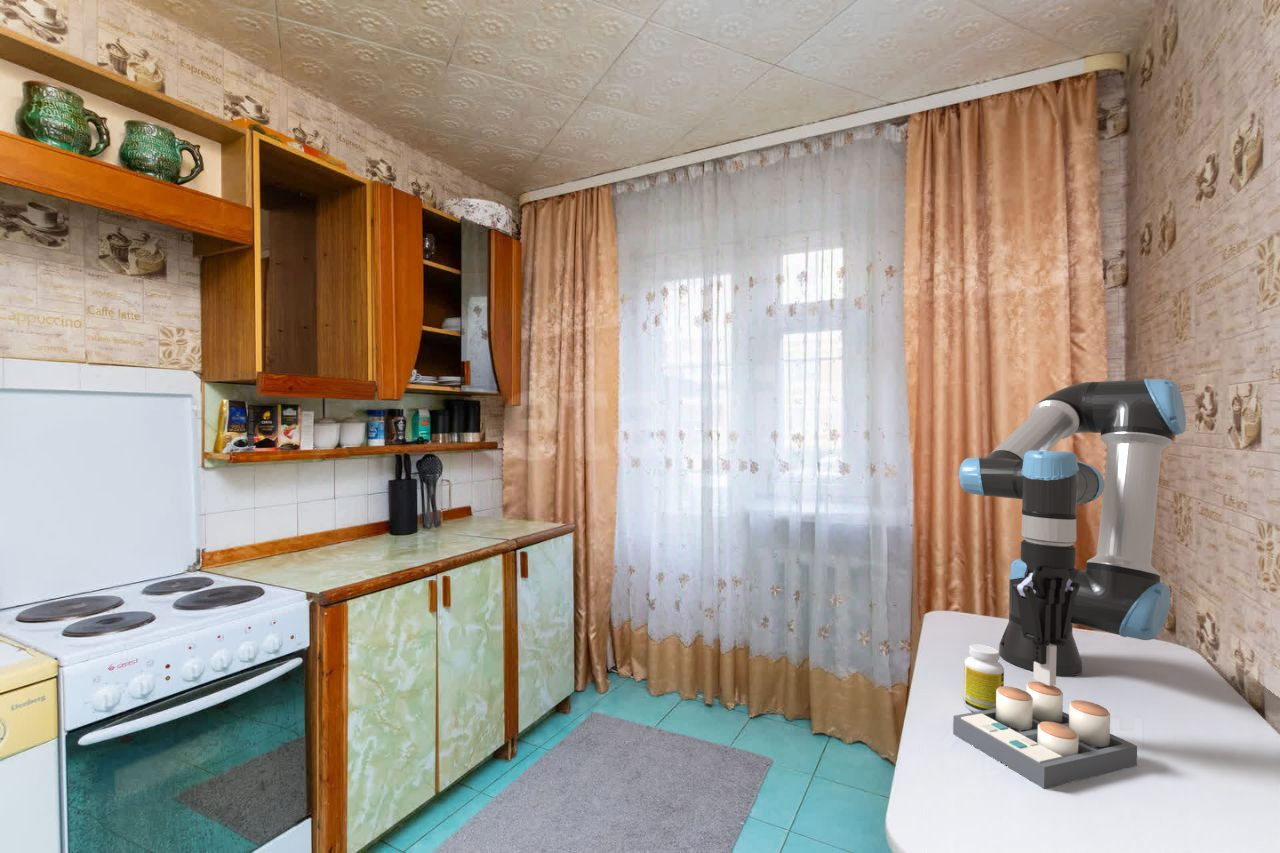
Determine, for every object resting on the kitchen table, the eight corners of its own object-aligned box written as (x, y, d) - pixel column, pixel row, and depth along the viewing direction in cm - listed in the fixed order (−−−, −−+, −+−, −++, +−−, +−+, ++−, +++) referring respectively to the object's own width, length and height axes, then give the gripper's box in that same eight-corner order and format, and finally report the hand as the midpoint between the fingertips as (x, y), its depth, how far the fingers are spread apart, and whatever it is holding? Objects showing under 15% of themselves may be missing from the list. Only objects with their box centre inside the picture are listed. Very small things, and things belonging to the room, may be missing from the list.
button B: (1082, 727, 91) (1083, 697, 91) (1117, 743, 86) (1118, 712, 87) (1061, 732, 90) (1061, 701, 90) (1095, 748, 85) (1096, 716, 85)
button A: (1039, 707, 98) (1040, 679, 98) (1069, 721, 93) (1070, 692, 93) (1018, 711, 96) (1019, 682, 96) (1048, 725, 91) (1049, 696, 92)
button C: (1010, 712, 96) (1010, 684, 96) (1039, 727, 91) (1040, 697, 91) (988, 716, 94) (989, 687, 94) (1017, 731, 89) (1018, 701, 89)
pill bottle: (1009, 720, 99) (1010, 657, 99) (970, 715, 100) (972, 653, 100) (994, 703, 105) (996, 644, 105) (958, 699, 106) (959, 640, 106)
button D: (1051, 749, 89) (1052, 719, 89) (1086, 767, 84) (1086, 735, 84) (1029, 754, 87) (1030, 723, 87) (1062, 773, 83) (1063, 740, 83)
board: (1038, 717, 100) (1039, 698, 100) (1136, 765, 86) (1137, 743, 86) (953, 733, 93) (953, 713, 93) (1044, 788, 79) (1044, 764, 79)
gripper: (1052, 536, 101) (1049, 668, 100) (998, 538, 97) (995, 676, 96) (1098, 544, 94) (1094, 687, 93) (1042, 547, 89) (1039, 696, 89)
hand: (1044, 681), depth 95 cm, fingers closed
